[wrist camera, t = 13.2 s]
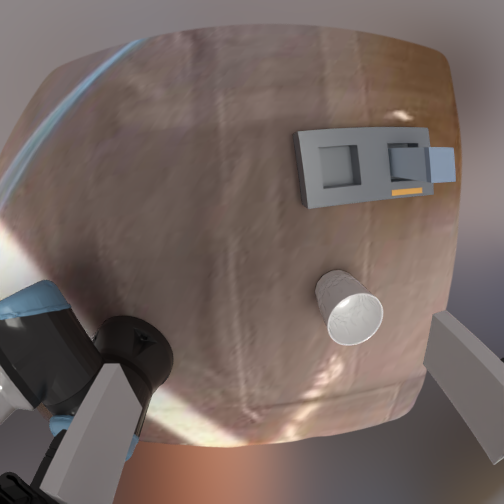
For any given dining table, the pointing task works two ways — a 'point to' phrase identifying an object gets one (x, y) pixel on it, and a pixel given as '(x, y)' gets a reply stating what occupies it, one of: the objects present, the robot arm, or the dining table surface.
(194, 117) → the dining table surface
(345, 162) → the panel
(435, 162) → the plug
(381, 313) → the white cup
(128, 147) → the dining table surface
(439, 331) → the robot arm
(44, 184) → the dining table surface
